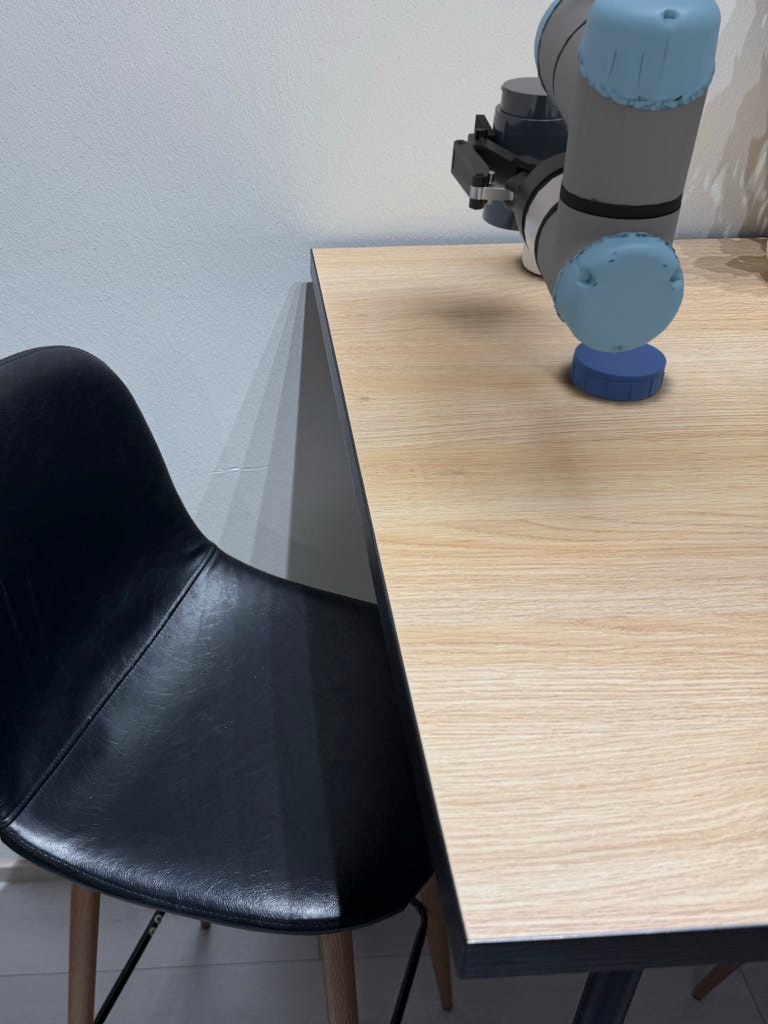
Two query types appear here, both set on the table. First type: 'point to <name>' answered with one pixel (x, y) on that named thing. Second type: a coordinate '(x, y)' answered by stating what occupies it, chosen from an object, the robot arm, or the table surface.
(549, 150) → the jar
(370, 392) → the table surface
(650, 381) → the lid
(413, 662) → the table surface
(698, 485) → the table surface
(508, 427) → the table surface
